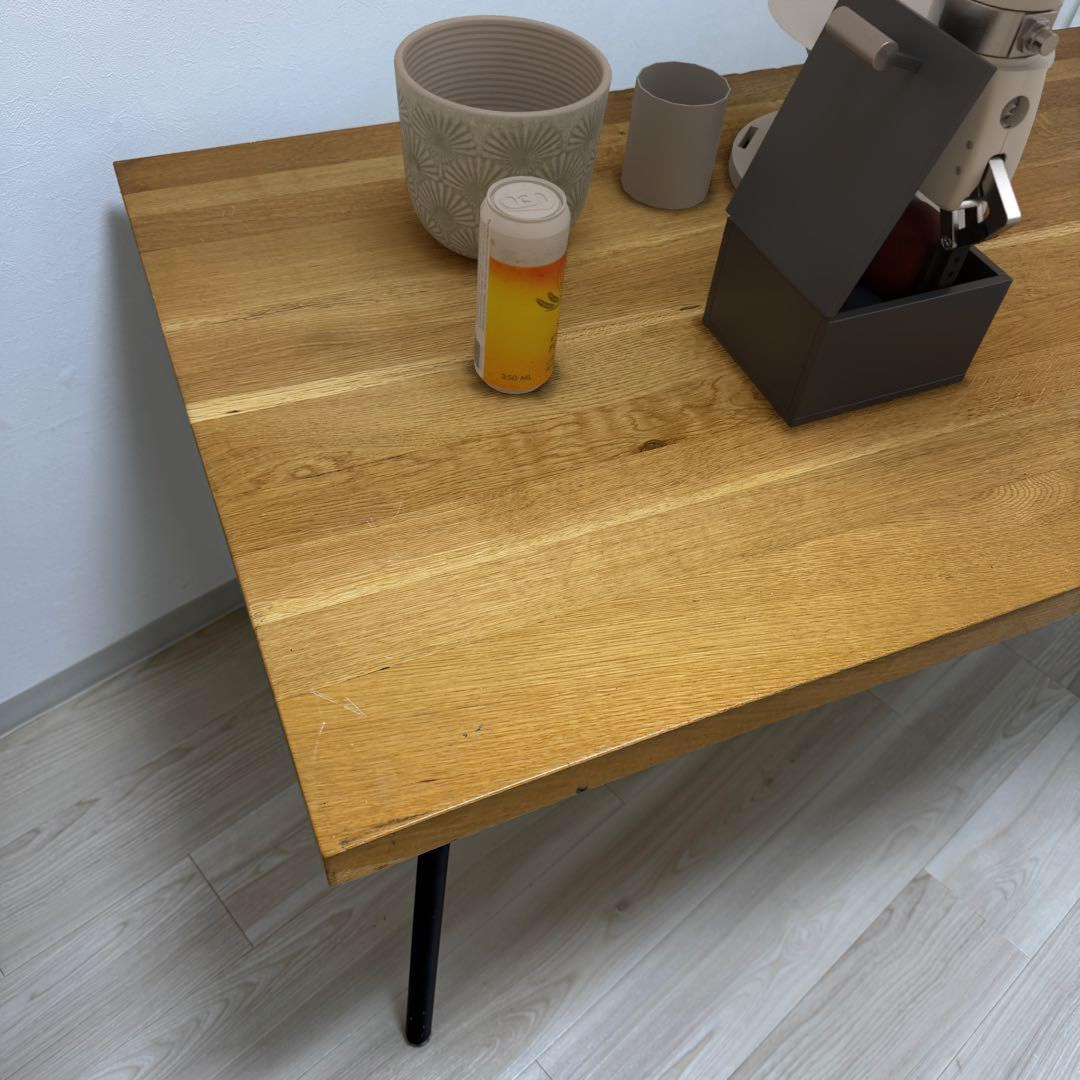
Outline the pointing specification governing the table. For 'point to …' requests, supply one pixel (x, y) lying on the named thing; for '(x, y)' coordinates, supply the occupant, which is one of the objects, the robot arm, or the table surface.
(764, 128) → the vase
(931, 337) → the open box
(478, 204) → the planter
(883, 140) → the box lid
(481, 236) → the beer can
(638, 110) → the cup
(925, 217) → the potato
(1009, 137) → the robot arm
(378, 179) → the table surface
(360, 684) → the table surface
